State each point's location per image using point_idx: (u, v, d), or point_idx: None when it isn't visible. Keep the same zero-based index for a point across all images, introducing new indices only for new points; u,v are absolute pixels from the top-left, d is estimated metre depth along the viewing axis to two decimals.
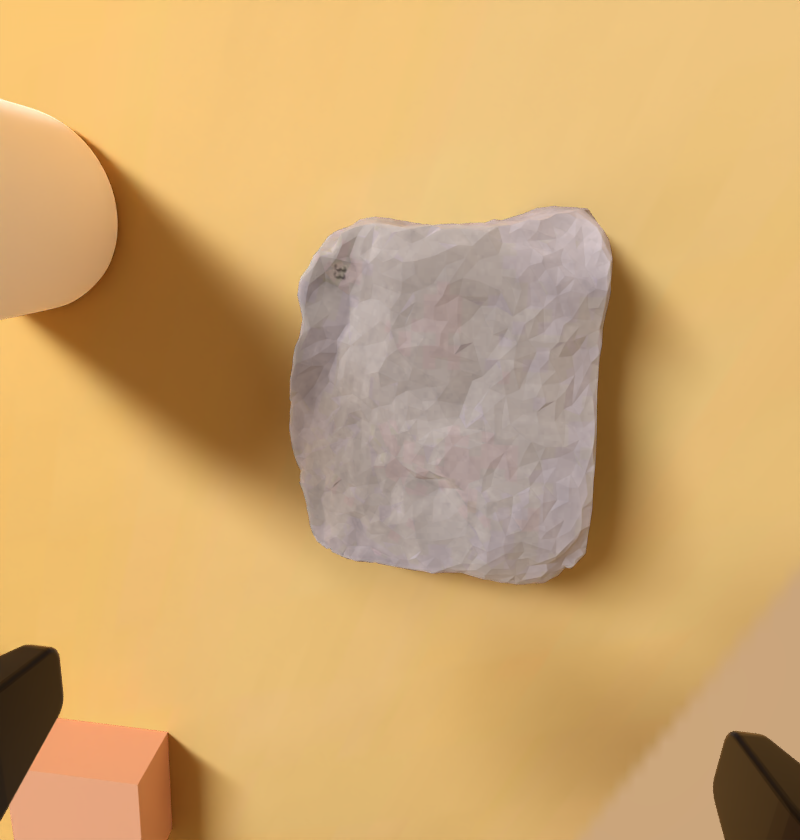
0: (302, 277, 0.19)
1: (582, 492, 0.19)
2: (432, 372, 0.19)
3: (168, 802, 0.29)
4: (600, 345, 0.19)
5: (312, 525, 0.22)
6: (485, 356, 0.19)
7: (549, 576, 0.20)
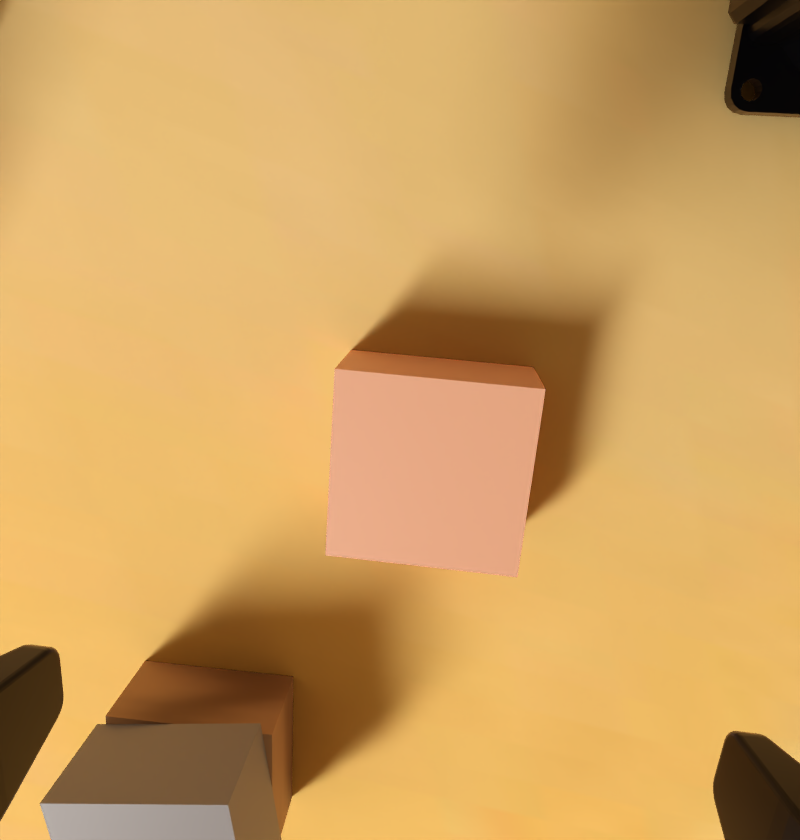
0: None
1: None
2: None
3: (472, 363, 0.19)
4: None
5: None
6: None
7: None
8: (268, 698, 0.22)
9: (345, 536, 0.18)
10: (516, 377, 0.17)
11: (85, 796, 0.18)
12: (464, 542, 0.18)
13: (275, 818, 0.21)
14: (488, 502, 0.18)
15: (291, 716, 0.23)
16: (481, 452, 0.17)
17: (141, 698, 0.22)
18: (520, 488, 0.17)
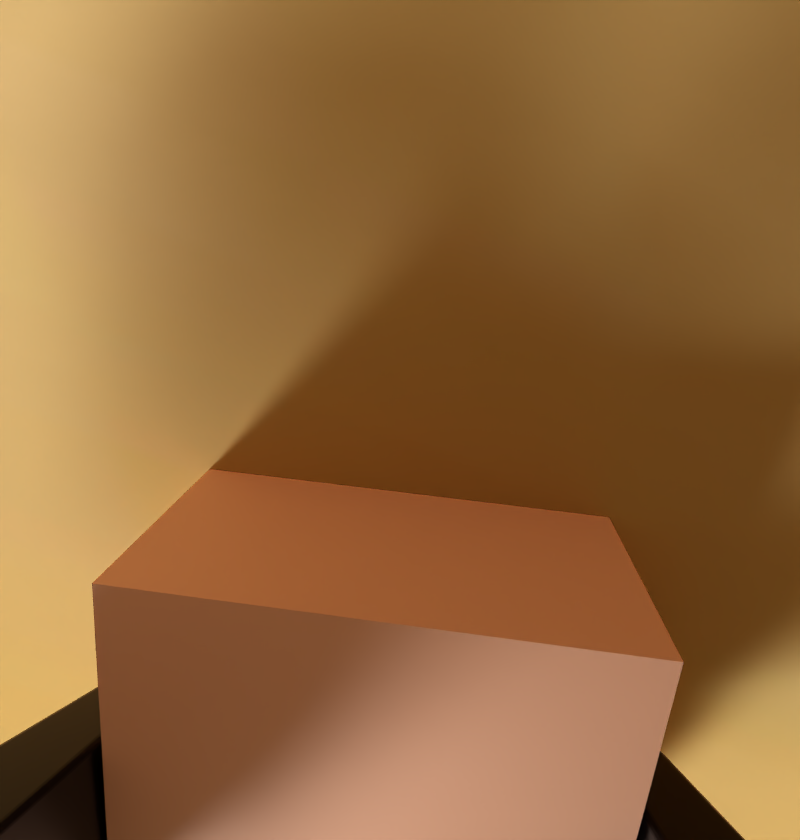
0: None
1: None
2: None
3: (474, 516, 0.08)
4: None
5: None
6: None
7: None
8: None
9: None
10: (587, 589, 0.07)
11: None
12: None
13: None
14: None
15: None
16: (496, 802, 0.06)
17: None
18: None
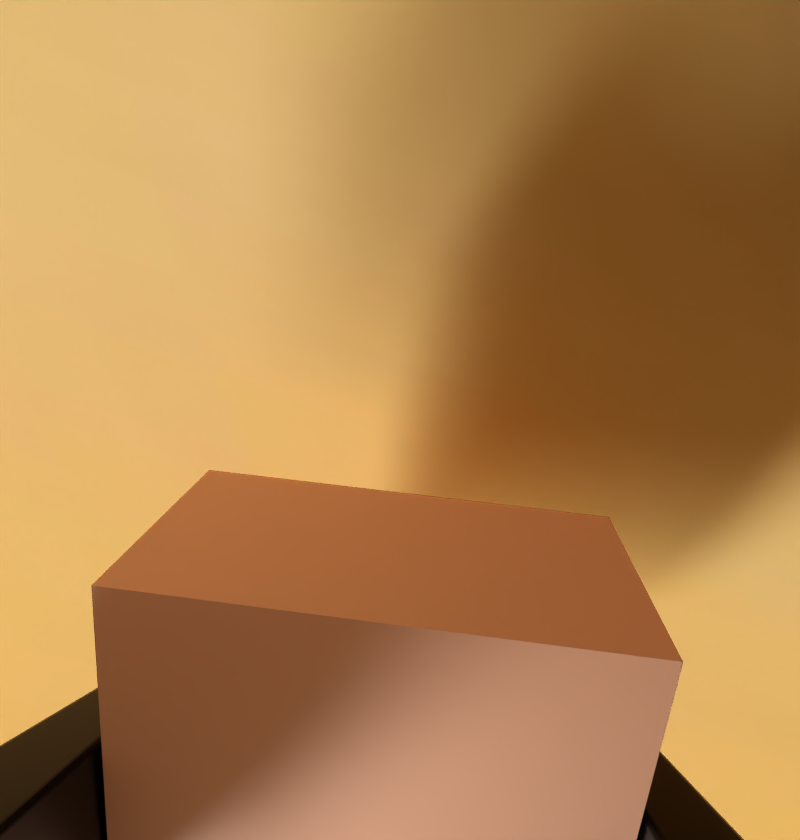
0: None
1: None
2: None
3: (474, 517, 0.08)
4: None
5: None
6: None
7: None
8: None
9: None
10: (587, 589, 0.07)
11: None
12: None
13: None
14: None
15: None
16: (496, 803, 0.06)
17: None
18: None
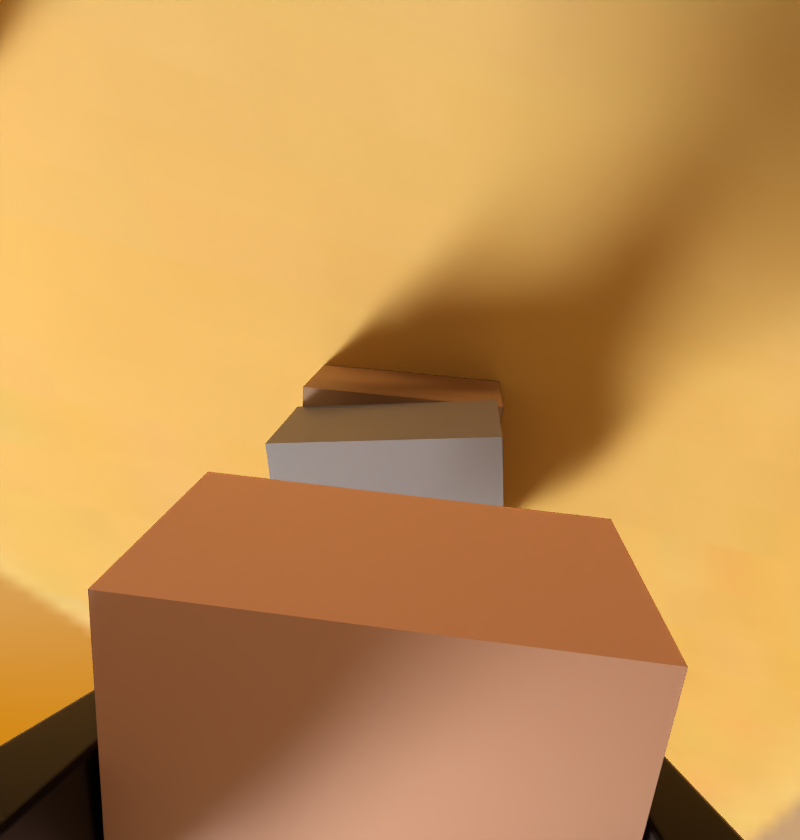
0: None
1: None
2: None
3: (475, 519, 0.08)
4: None
5: None
6: None
7: None
8: (481, 389, 0.19)
9: None
10: (589, 593, 0.07)
11: (318, 438, 0.15)
12: None
13: None
14: None
15: None
16: (497, 809, 0.06)
17: (337, 381, 0.18)
18: None
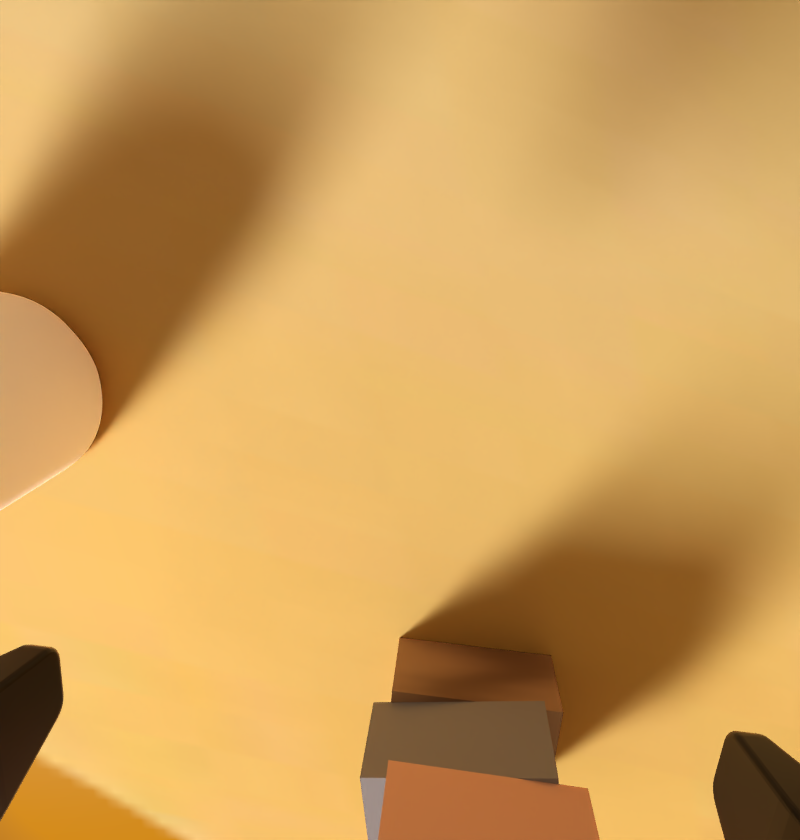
0: None
1: None
2: None
3: (522, 794, 0.17)
4: None
5: None
6: None
7: None
8: (539, 677, 0.22)
9: None
10: None
11: None
12: None
13: None
14: None
15: None
16: None
17: (417, 674, 0.22)
18: None
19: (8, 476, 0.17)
